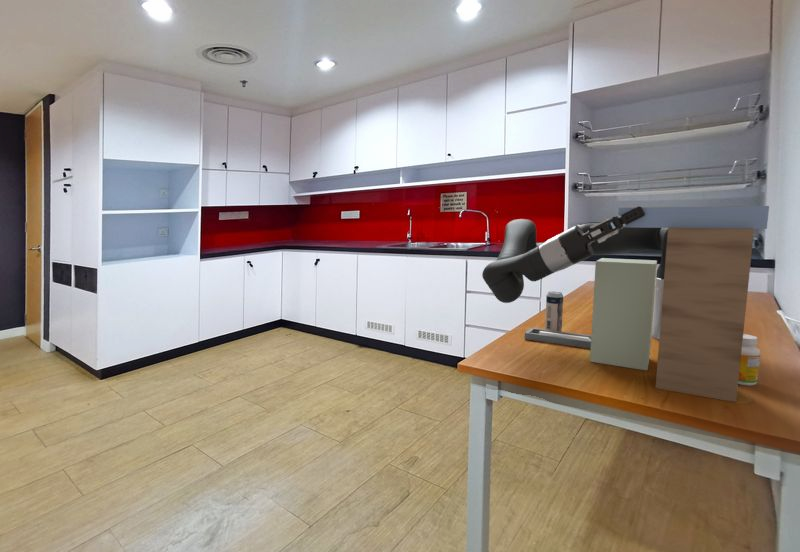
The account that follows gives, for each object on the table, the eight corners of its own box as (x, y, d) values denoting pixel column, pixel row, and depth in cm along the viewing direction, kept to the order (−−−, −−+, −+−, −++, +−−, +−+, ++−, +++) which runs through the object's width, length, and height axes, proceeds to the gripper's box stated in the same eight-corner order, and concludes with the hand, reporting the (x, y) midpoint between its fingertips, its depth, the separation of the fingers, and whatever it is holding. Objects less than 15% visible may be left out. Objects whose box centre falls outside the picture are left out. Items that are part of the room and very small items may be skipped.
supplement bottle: (718, 377, 95) (722, 333, 94) (741, 376, 96) (746, 332, 94) (739, 386, 90) (744, 339, 89) (763, 385, 90) (769, 339, 89)
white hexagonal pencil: (599, 350, 118) (538, 340, 127) (600, 344, 120) (540, 335, 128) (599, 343, 117) (537, 333, 125) (600, 337, 118) (539, 328, 127)
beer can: (562, 334, 130) (564, 294, 129) (545, 333, 131) (547, 293, 130) (560, 330, 135) (562, 291, 133) (543, 329, 136) (545, 291, 134)
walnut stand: (657, 376, 96) (668, 227, 91) (731, 388, 89) (748, 228, 85) (655, 388, 89) (668, 228, 85) (736, 402, 82) (754, 228, 78)
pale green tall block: (596, 350, 114) (601, 258, 111) (649, 358, 108) (657, 260, 104) (589, 361, 105) (595, 261, 102) (647, 370, 99) (655, 264, 96)
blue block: (619, 227, 95) (620, 208, 94) (763, 228, 82) (765, 206, 81) (617, 227, 91) (618, 207, 91) (766, 228, 79) (769, 206, 78)
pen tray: (531, 333, 131) (531, 327, 131) (613, 344, 119) (613, 338, 119) (524, 339, 125) (524, 332, 125) (609, 351, 114) (610, 344, 113)
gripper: (579, 262, 104) (654, 226, 95) (566, 267, 92) (651, 227, 83) (564, 234, 105) (637, 196, 97) (549, 236, 94) (631, 192, 85)
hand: (643, 210), depth 90 cm, fingers closed on blue block, 4 cm apart
